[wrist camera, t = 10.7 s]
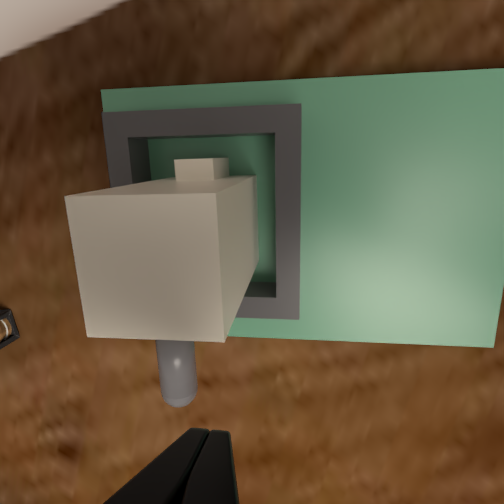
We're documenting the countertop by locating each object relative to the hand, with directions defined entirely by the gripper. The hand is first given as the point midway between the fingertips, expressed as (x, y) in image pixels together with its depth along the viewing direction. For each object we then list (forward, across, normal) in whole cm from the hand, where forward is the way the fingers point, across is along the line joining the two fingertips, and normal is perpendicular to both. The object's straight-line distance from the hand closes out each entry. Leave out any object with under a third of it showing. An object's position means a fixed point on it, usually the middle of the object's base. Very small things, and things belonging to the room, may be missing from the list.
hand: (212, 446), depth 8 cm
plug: (+11, +2, -2) cm, 11 cm away
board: (+12, -2, -3) cm, 12 cm away
